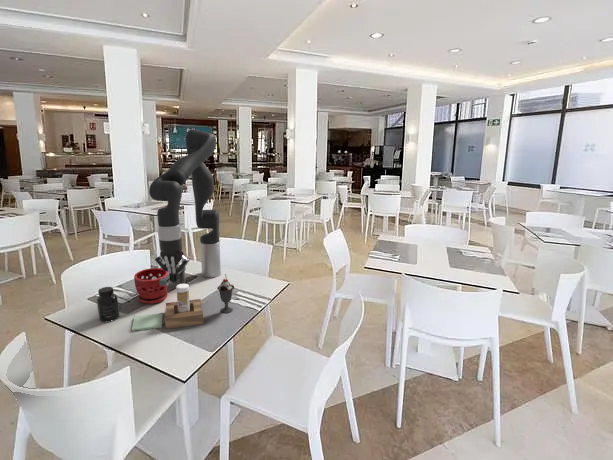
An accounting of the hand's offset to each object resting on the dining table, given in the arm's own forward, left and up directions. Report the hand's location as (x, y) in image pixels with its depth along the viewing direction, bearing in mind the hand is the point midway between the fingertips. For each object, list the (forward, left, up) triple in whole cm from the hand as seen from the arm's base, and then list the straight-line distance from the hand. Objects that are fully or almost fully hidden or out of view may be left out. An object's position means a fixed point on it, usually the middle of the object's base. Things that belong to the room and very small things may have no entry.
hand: (174, 281), depth 132 cm
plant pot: (-22, -9, -16) cm, 29 cm away
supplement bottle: (-10, -24, -16) cm, 31 cm away
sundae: (-3, +19, -16) cm, 25 cm away
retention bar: (-6, 0, 0) cm, 6 cm away
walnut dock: (-5, +3, -16) cm, 17 cm away
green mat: (-2, -10, -16) cm, 19 cm away
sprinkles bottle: (-2, +3, -16) cm, 16 cm away
